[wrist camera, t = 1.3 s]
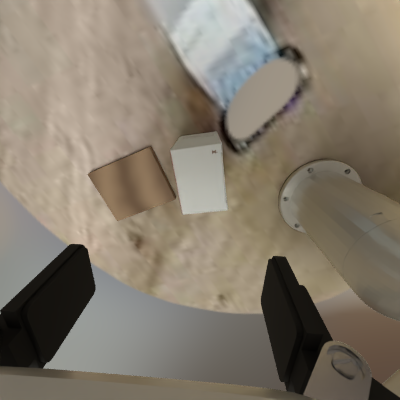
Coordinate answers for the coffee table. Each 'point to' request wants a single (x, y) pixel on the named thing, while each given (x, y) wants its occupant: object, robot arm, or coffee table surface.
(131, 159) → the walnut coaster board
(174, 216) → the coffee table surface
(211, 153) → the small box
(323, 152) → the coffee table surface
